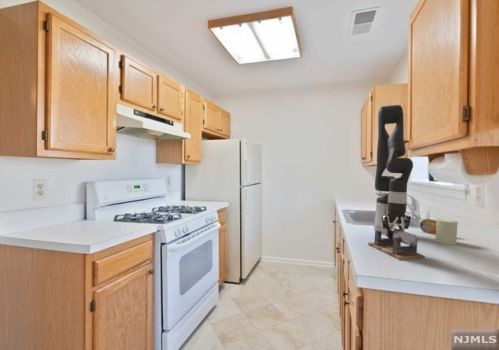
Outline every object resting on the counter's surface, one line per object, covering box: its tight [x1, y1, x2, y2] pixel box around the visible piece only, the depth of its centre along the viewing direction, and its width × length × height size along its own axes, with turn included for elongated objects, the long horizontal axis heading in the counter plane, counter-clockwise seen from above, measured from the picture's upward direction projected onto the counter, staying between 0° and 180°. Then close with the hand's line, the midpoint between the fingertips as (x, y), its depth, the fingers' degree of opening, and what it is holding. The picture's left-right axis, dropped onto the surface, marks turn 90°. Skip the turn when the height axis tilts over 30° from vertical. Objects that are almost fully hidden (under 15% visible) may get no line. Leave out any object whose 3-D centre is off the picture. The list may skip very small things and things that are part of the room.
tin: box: [419, 218, 437, 236], centre depth 155 cm, size 15×3×8 cm, turn 33°
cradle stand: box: [367, 230, 426, 261], centre depth 122 cm, size 20×13×8 cm, turn 12°
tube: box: [376, 224, 419, 246], centre depth 122 cm, size 20×5×5 cm, turn 12°
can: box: [434, 218, 459, 245], centre depth 140 cm, size 9×9×12 cm
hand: (395, 237), depth 122 cm, fingers closed on tube, 5 cm apart
